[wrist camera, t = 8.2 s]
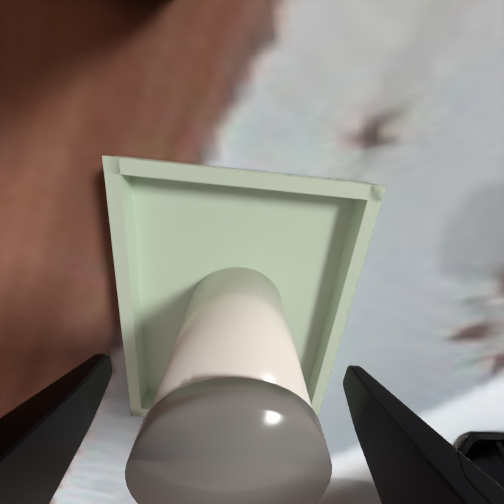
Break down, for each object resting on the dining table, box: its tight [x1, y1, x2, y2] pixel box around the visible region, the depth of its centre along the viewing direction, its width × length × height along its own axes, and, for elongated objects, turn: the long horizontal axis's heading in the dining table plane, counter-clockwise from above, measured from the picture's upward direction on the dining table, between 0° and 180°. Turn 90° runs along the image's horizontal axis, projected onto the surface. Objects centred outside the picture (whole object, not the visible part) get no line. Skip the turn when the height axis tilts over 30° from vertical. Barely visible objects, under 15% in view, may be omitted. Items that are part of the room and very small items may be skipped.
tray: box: [102, 156, 386, 417], centre depth 13 cm, size 14×11×2 cm
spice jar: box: [125, 267, 332, 504], centre depth 9 cm, size 5×5×7 cm
